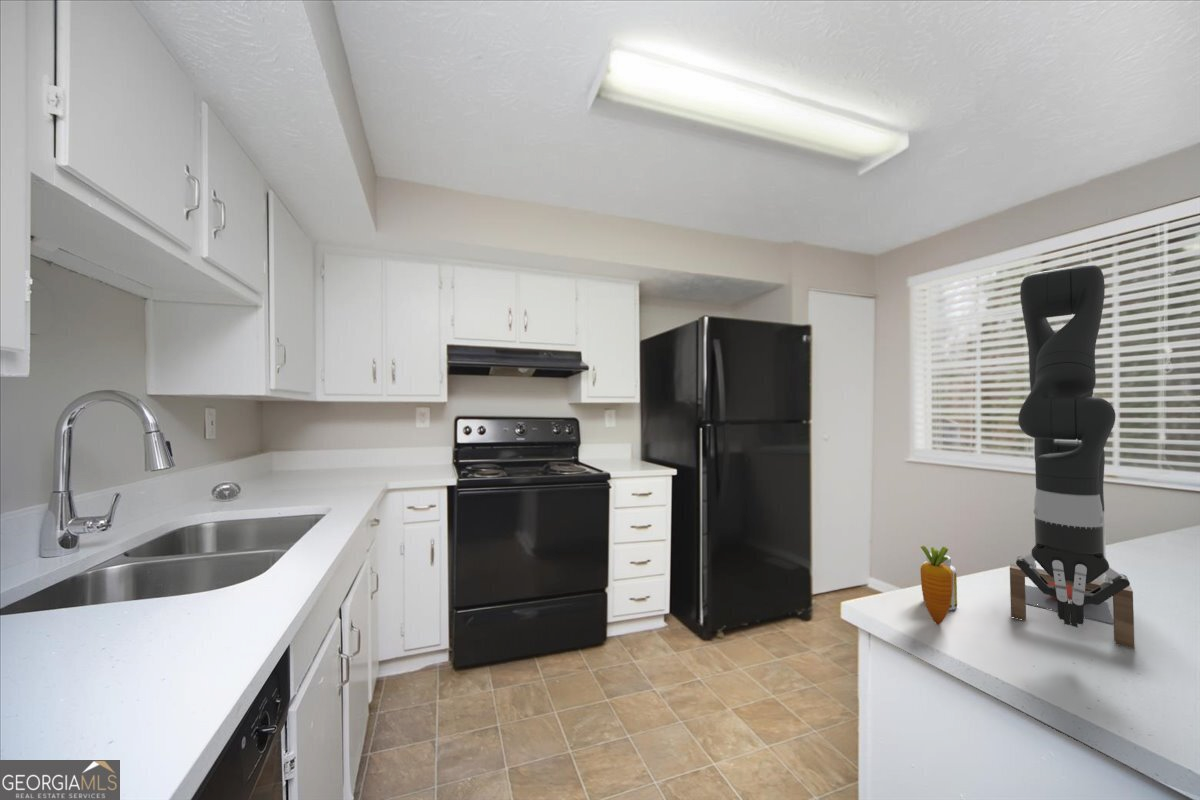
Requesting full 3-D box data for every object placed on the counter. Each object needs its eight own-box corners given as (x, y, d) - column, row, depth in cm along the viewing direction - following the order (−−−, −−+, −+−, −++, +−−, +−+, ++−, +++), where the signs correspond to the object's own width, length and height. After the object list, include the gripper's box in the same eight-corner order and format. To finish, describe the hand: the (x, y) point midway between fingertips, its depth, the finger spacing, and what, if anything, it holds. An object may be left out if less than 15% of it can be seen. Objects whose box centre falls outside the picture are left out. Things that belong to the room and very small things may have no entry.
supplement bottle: (940, 598, 91) (938, 550, 91) (964, 610, 85) (963, 559, 85) (916, 599, 90) (915, 551, 90) (939, 612, 85) (938, 561, 85)
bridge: (1011, 612, 84) (1010, 563, 84) (1132, 641, 73) (1130, 585, 74) (1010, 617, 82) (1009, 567, 82) (1134, 648, 71) (1132, 591, 71)
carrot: (915, 620, 82) (913, 543, 82) (932, 615, 83) (930, 539, 84) (943, 633, 77) (941, 551, 77) (961, 628, 79) (959, 547, 79)
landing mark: (1025, 585, 96) (1025, 585, 96) (1107, 603, 87) (1107, 602, 87) (1023, 603, 88) (1023, 602, 88) (1114, 624, 79) (1114, 623, 79)
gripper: (1128, 521, 67) (1131, 630, 67) (1012, 507, 77) (1015, 602, 77) (1135, 532, 62) (1139, 650, 62) (1010, 516, 71) (1013, 618, 71)
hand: (1070, 623), depth 69 cm, fingers closed
